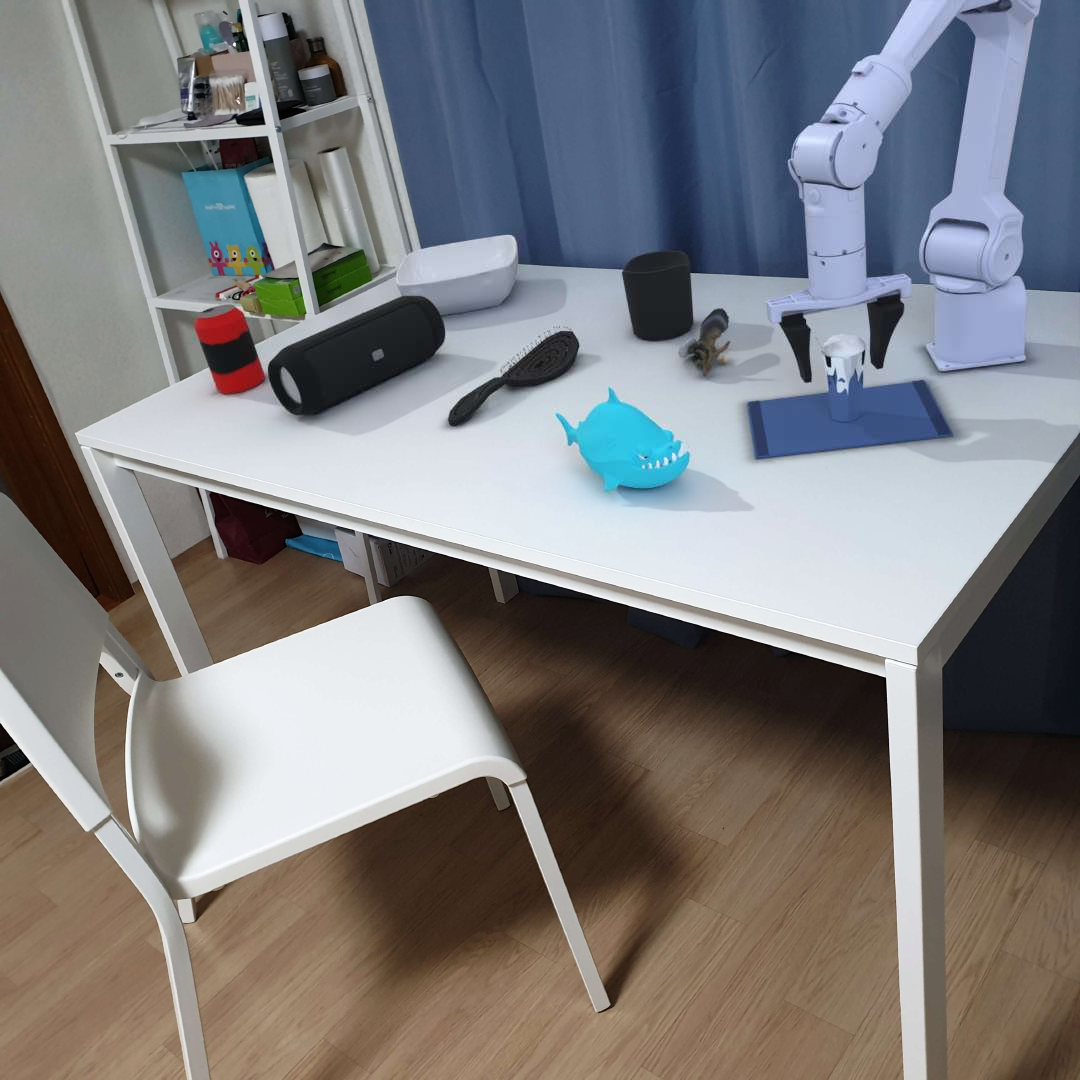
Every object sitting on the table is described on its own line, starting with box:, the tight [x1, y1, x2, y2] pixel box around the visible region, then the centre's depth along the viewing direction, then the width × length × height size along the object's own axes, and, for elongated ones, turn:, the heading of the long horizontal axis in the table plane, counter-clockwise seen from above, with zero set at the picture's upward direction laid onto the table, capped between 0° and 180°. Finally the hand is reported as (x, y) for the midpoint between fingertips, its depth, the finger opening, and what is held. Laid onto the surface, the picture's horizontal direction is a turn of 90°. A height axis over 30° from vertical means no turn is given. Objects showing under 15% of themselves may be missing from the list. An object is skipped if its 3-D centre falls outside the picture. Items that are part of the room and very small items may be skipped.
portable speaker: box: [267, 295, 446, 416], centre depth 150 cm, size 26×10×10 cm, turn 134°
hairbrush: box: [447, 325, 581, 427], centre depth 140 cm, size 8×4×25 cm
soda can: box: [193, 304, 266, 395], centre depth 160 cm, size 8×8×12 cm
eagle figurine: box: [677, 308, 731, 377], centre depth 134 cm, size 8×7×9 cm
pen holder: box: [621, 250, 694, 342], centre depth 147 cm, size 9×9×10 cm
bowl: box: [395, 234, 519, 317], centre depth 177 cm, size 20×20×8 cm
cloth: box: [746, 379, 954, 460], centre depth 115 cm, size 20×14×1 cm
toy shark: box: [555, 386, 691, 492], centre depth 110 cm, size 10×18×11 cm, turn 45°
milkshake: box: [814, 333, 867, 422], centre depth 112 cm, size 4×5×10 cm
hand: (841, 372), depth 112 cm, fingers open, 7 cm apart
